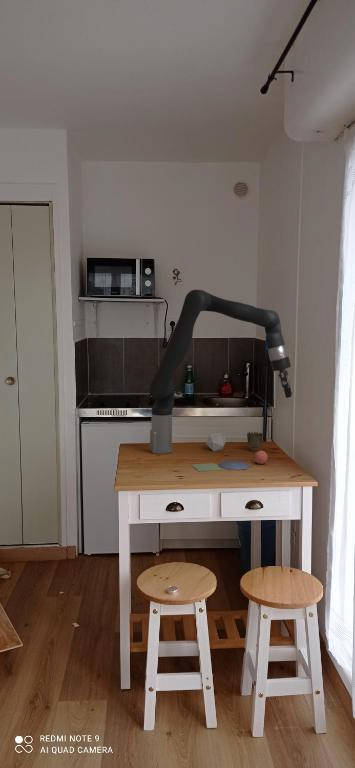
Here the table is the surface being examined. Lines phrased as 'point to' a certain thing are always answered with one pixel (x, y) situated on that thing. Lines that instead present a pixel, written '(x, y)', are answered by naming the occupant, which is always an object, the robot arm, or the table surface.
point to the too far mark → (206, 467)
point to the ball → (261, 457)
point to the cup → (254, 440)
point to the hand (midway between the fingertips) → (289, 396)
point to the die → (216, 441)
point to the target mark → (234, 465)
